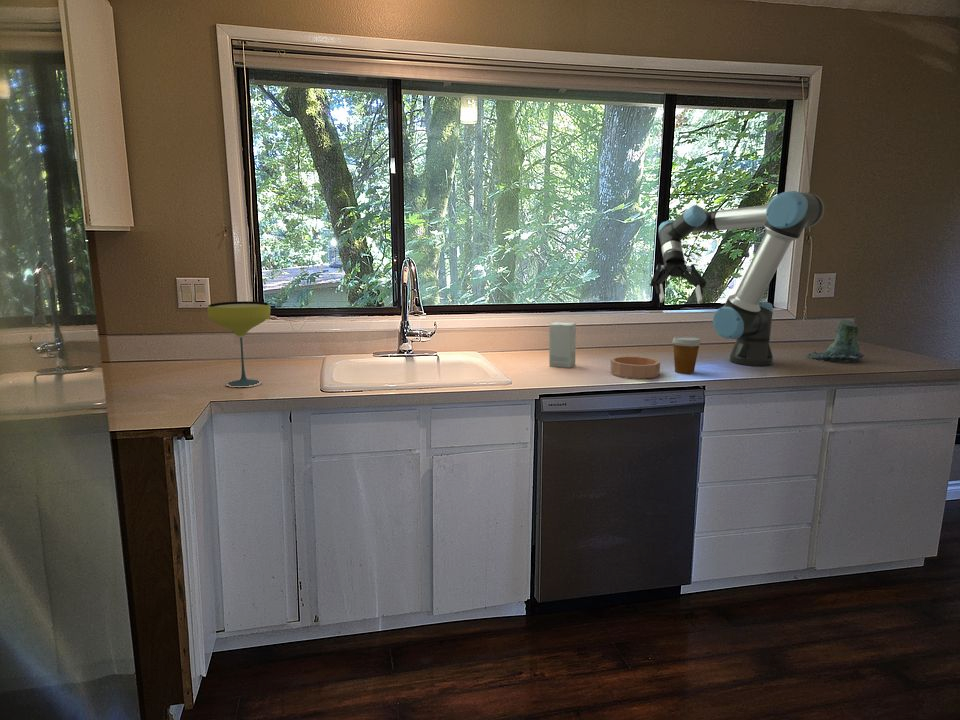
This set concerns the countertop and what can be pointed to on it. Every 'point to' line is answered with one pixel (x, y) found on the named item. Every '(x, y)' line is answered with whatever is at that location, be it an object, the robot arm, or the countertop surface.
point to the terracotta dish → (635, 367)
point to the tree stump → (842, 345)
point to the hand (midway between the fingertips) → (681, 301)
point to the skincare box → (562, 344)
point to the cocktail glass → (239, 324)
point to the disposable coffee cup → (685, 353)
